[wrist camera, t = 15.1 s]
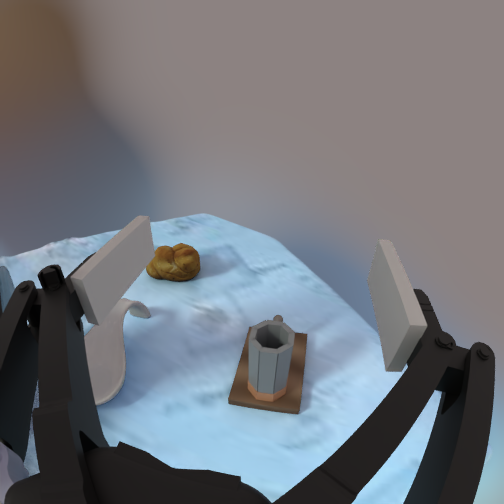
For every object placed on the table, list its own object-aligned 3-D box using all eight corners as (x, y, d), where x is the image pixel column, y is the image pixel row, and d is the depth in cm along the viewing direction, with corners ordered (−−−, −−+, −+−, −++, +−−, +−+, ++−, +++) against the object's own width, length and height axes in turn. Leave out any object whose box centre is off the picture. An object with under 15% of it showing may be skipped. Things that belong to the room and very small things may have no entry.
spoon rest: (116, 424, 32) (96, 400, 29) (59, 399, 34) (38, 373, 30) (166, 319, 52) (159, 289, 49) (116, 309, 54) (106, 281, 50)
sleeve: (283, 403, 36) (292, 356, 30) (245, 397, 37) (244, 349, 31) (288, 373, 40) (296, 323, 35) (252, 368, 41) (253, 317, 36)
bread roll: (144, 285, 61) (136, 254, 57) (154, 261, 69) (148, 233, 65) (200, 286, 61) (196, 254, 57) (204, 261, 70) (202, 232, 65)
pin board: (298, 414, 36) (307, 384, 31) (228, 403, 37) (225, 372, 33) (306, 339, 48) (312, 304, 44) (249, 332, 50) (249, 297, 46)
